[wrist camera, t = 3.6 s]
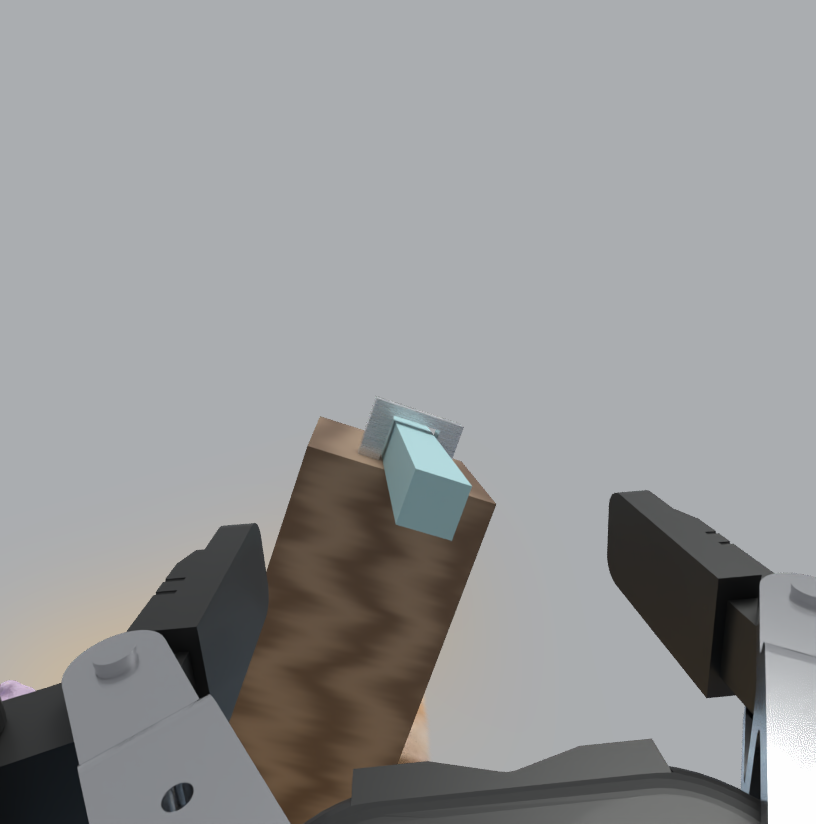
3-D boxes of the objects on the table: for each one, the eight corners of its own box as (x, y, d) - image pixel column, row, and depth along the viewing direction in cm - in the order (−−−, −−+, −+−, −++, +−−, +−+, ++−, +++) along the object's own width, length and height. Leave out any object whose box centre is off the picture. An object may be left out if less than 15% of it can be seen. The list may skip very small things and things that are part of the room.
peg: (451, 540, 25) (472, 486, 25) (395, 524, 25) (415, 468, 24) (405, 439, 49) (415, 411, 48) (376, 430, 48) (386, 401, 48)
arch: (358, 453, 36) (376, 398, 36) (358, 448, 38) (376, 395, 37) (444, 480, 37) (463, 427, 37) (441, 474, 39) (459, 423, 38)
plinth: (178, 841, 37) (307, 445, 34) (220, 719, 49) (320, 416, 45) (355, 873, 39) (496, 504, 36) (355, 748, 51) (461, 461, 47)
